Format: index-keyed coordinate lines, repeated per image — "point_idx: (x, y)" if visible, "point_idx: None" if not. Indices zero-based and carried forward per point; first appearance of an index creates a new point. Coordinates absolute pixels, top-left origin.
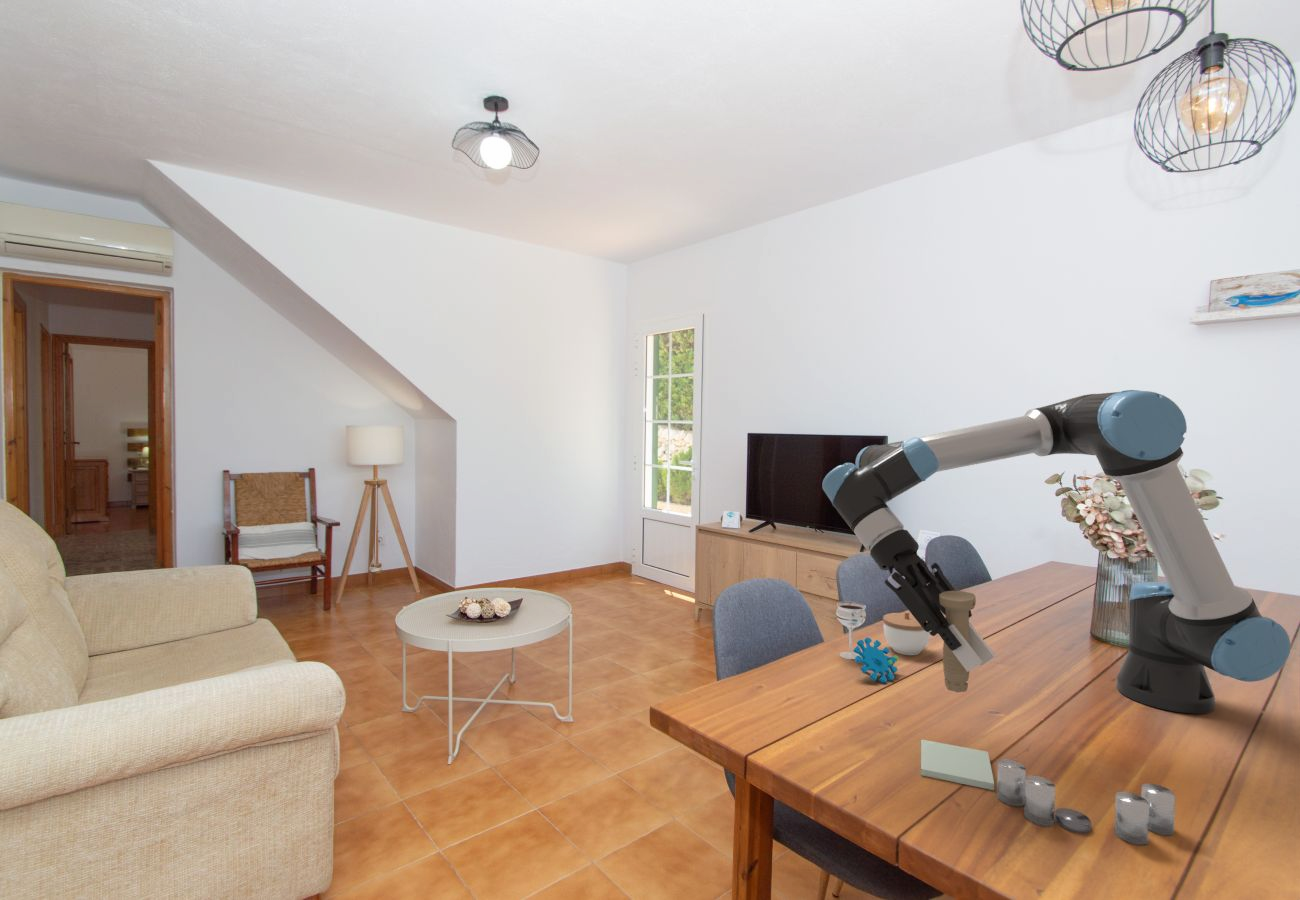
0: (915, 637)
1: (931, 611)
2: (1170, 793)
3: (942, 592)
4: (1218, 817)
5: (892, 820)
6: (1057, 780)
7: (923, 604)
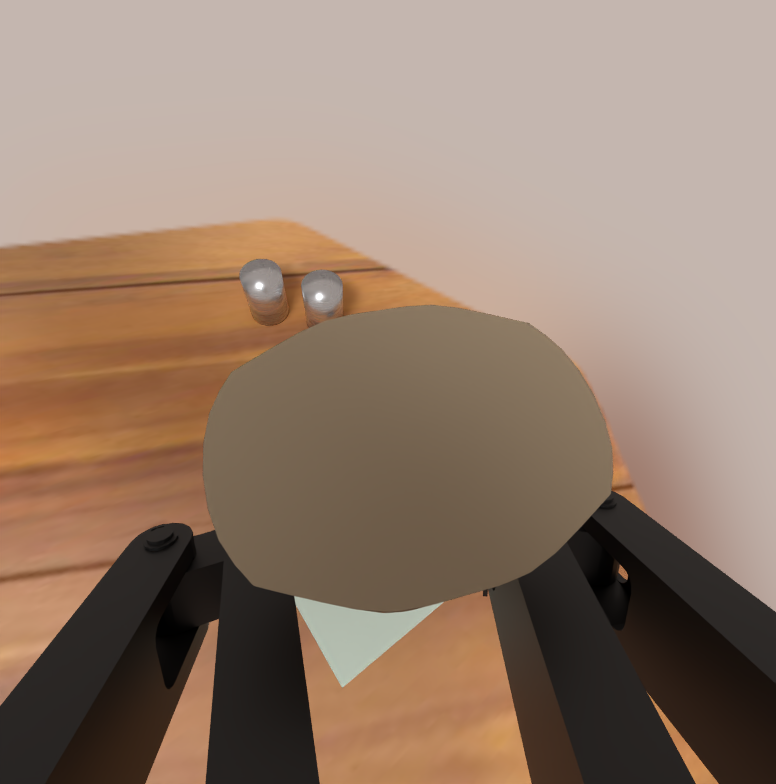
0: None
1: (625, 546)
2: (254, 263)
3: (438, 600)
4: (171, 278)
5: None
6: None
7: (719, 593)
